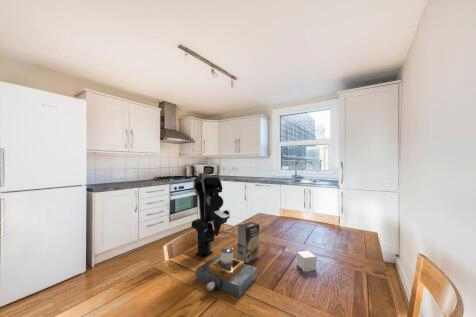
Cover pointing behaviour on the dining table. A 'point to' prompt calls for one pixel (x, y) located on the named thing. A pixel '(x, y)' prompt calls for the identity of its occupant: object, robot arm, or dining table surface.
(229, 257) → the silver calibration weight
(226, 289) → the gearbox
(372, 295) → the dining table surface
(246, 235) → the coffee box
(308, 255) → the adhesive note
